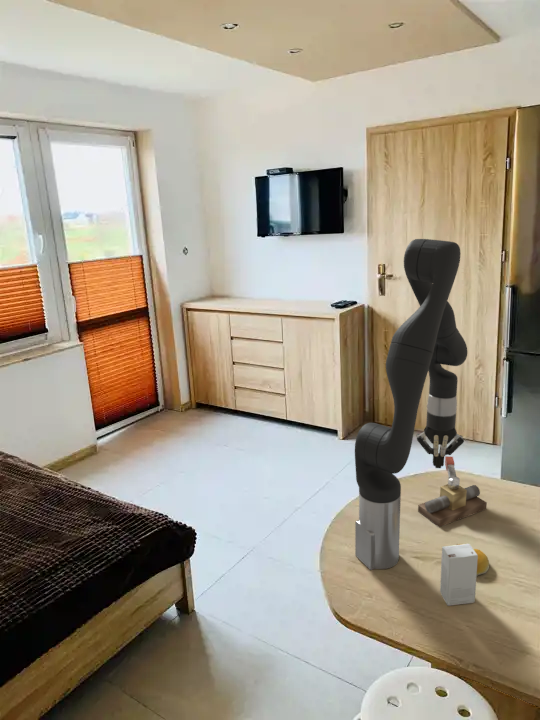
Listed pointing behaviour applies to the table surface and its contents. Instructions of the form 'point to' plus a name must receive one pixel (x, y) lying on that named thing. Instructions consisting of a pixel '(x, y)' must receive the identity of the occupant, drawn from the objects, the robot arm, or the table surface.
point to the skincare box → (458, 574)
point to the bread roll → (481, 562)
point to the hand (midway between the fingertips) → (438, 466)
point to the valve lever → (451, 473)
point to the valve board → (453, 514)
